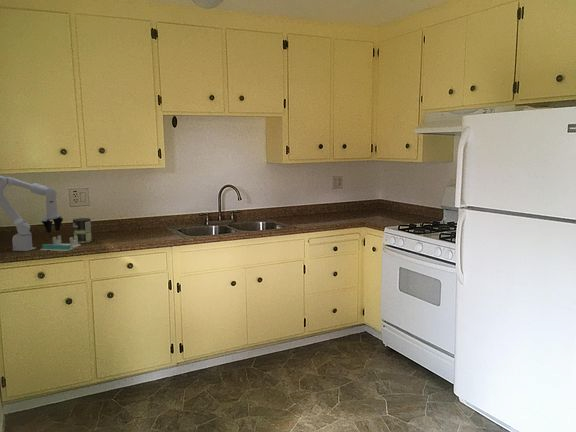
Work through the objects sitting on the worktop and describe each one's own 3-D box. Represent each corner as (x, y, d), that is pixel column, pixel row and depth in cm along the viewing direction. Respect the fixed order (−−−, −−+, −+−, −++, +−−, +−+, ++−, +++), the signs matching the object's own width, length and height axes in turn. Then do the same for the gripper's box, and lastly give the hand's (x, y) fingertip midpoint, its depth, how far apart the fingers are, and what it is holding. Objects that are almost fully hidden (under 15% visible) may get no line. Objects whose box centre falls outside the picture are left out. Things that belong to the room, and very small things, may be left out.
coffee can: (77, 243, 279) (76, 221, 277) (71, 241, 286) (70, 219, 284) (94, 241, 286) (93, 219, 284) (88, 239, 294) (86, 217, 292)
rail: (42, 248, 262) (42, 244, 262) (45, 248, 264) (44, 244, 264) (67, 249, 260) (67, 245, 259) (70, 248, 262) (70, 244, 262)
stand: (50, 247, 268) (49, 237, 267) (58, 245, 275) (57, 235, 274) (73, 248, 266) (73, 238, 265) (80, 245, 273) (80, 235, 272)
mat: (39, 250, 260) (39, 249, 260) (46, 248, 266) (46, 247, 266) (66, 251, 258) (66, 250, 258) (73, 248, 264) (73, 248, 264)
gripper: (49, 210, 258) (51, 233, 260) (65, 207, 272) (67, 229, 274) (38, 210, 259) (40, 233, 261) (55, 207, 273) (56, 229, 275)
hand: (53, 231), depth 267 cm, fingers open, 7 cm apart
